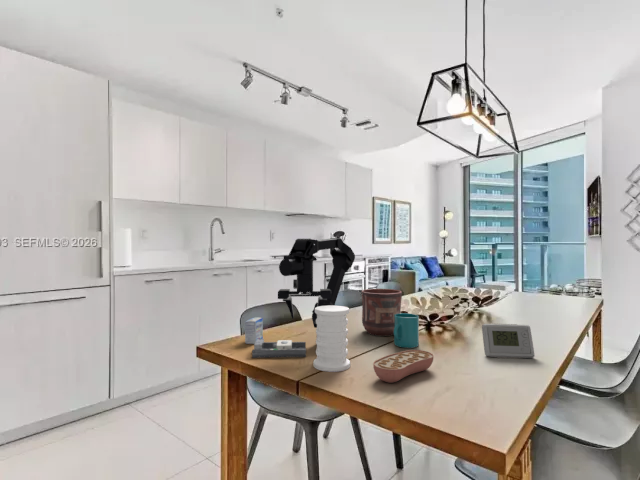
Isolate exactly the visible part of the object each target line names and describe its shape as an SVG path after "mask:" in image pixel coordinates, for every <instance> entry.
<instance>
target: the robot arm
mask: <svg viewBox="0 0 640 480" xmlns="http://www.w3.org/2000/svg"><path fill="white" fill-rule="evenodd" d="M329 249H330V250H329ZM323 250H329V254H330V256H331V257H332V261H331V262H332V263H331V264H332V266H333V269H332V272H331V275H330V278H329V280H328V284H327V286H326V288H320V290H314V262H317V260H318V259H317V258H316V257H315V256H314V254H317V253H319V251H323ZM355 259H356V256H355V252H354V251H353V249H352V248H351V246H349V245H348V244H346V242H344V240H343V239H342V238H341V237H330V238H323V239H316V238H296V239H295V242H294V243H293V245H292V248H291V249H290V252H289V253H288V255H283V259H282V260H281V261H280V263H279V265H278V270H279V273H280V274H281V275H282V276H283V277H290V276H296V279H293V281H292V282H293V283H292V284H293V285H292V286H293V287H292V288H293V289H295V290H296V291H295V290H292V291H291V290H290V288H281V289H279V290H278V291H277V300H282V302H285V303H286V305H287V307H288V311H289V314H290V316H291V319H294V305H293V298H294V297H317V302H316V303H314V307H313V310H312V311H311V312H312V314H311V320H312V324H313V327H314V328H316V329H317V324H316V319H317V314H316V313H315V307H319V306H328V305H334V306H336V301H337V298H338V295H339V293H340V289H341V286H342V283H343V280H344V277H345V274H346V272H347V271H348V270H350V268H351V267H352V266H353V264H354V262H355Z"/></svg>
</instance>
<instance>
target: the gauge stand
mask: <svg viewBox="0 0 640 480" xmlns="http://www.w3.org/2000/svg"><path fill="white" fill-rule="evenodd" d="M264 339H265V338H263V339H257V340H256V342H255V344H253V349H252V350H251V352H252V353H251V354H252V355H251V358H252V359H255V358H258V359H260V358H307V348H306V347H307V346H306V345H307V344H306V343H307V342H306V341H292V349H277V348H273V344H277V342H278V341H265V340H264Z"/></svg>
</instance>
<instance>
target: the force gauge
mask: <svg viewBox="0 0 640 480" xmlns="http://www.w3.org/2000/svg"><path fill="white" fill-rule="evenodd" d="M276 342H277V344H273V348H277V349H292V342H293V340H292V339H280V340H279V339H278V340H277V341H276Z"/></svg>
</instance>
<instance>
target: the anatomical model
mask: <svg viewBox="0 0 640 480" xmlns="http://www.w3.org/2000/svg"><path fill="white" fill-rule="evenodd" d="M434 358H435V357H434V354H433V353H432V352H429V351H427V350H426V351H425V350H423V349H422V350H419V349H409V350H403V351H399V352H398V351H397V352H395V353H392V354H388V355H385V356H383V357H380V358H378V359H376V360H374V361H373V363H372V364H373V370H374V373H375V375H376V376H377V377H378V378H379V379H380V380H381V381H383V382H384V383H390V384H391V383H393V384H394V383H397V382H398V381H400V380H402V379H404V378H406V377H407V376H410V375H413V374H416V373H420V372H423V371H427V370H428V369H429V368H431V366H432V365H433V362H434Z"/></svg>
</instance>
